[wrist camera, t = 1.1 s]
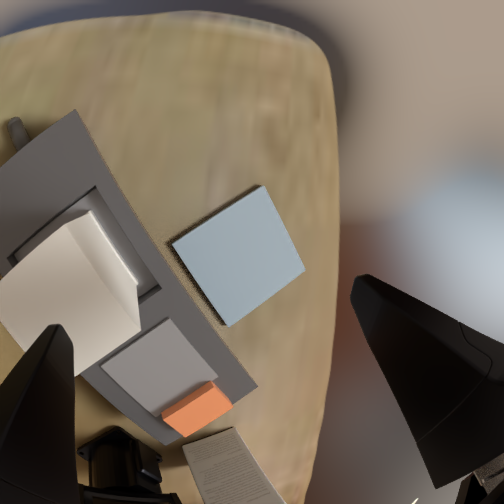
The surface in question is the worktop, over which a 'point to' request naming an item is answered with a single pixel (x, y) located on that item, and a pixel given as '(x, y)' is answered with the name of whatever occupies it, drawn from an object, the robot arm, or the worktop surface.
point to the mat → (241, 255)
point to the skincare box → (228, 471)
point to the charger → (73, 292)
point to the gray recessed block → (148, 289)
